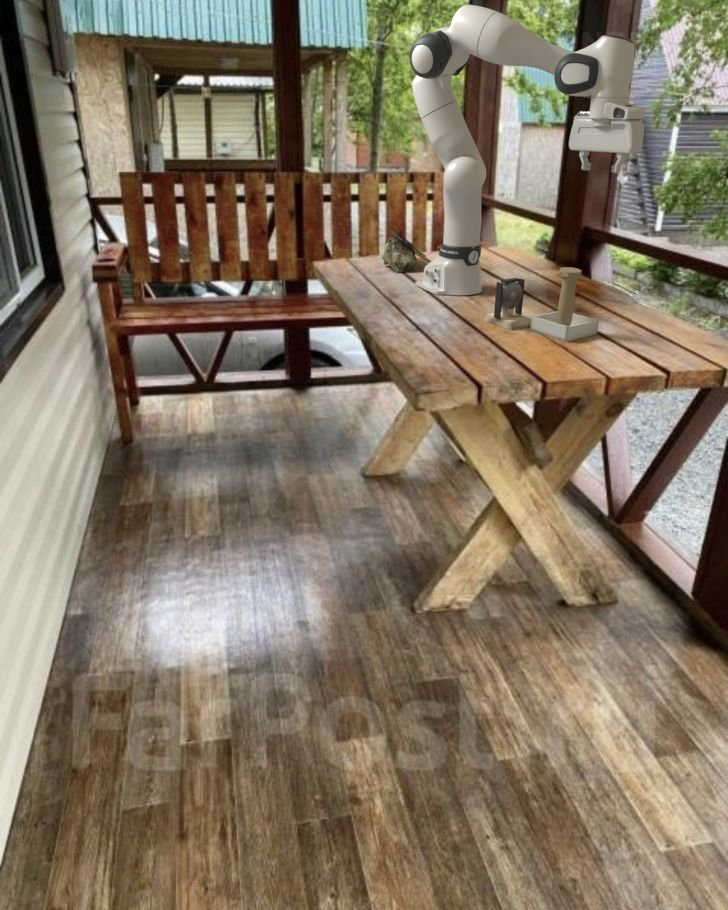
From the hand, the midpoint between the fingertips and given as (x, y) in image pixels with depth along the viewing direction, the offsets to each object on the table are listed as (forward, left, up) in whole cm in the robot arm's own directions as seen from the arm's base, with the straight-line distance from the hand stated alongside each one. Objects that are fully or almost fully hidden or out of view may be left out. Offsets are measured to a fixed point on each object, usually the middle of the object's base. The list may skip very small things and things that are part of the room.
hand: (600, 171), depth 185 cm
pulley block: (-6, -22, -37) cm, 44 cm away
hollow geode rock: (-83, +1, -38) cm, 91 cm away
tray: (+8, -16, -37) cm, 41 cm away
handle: (+8, -15, -37) cm, 41 cm away
